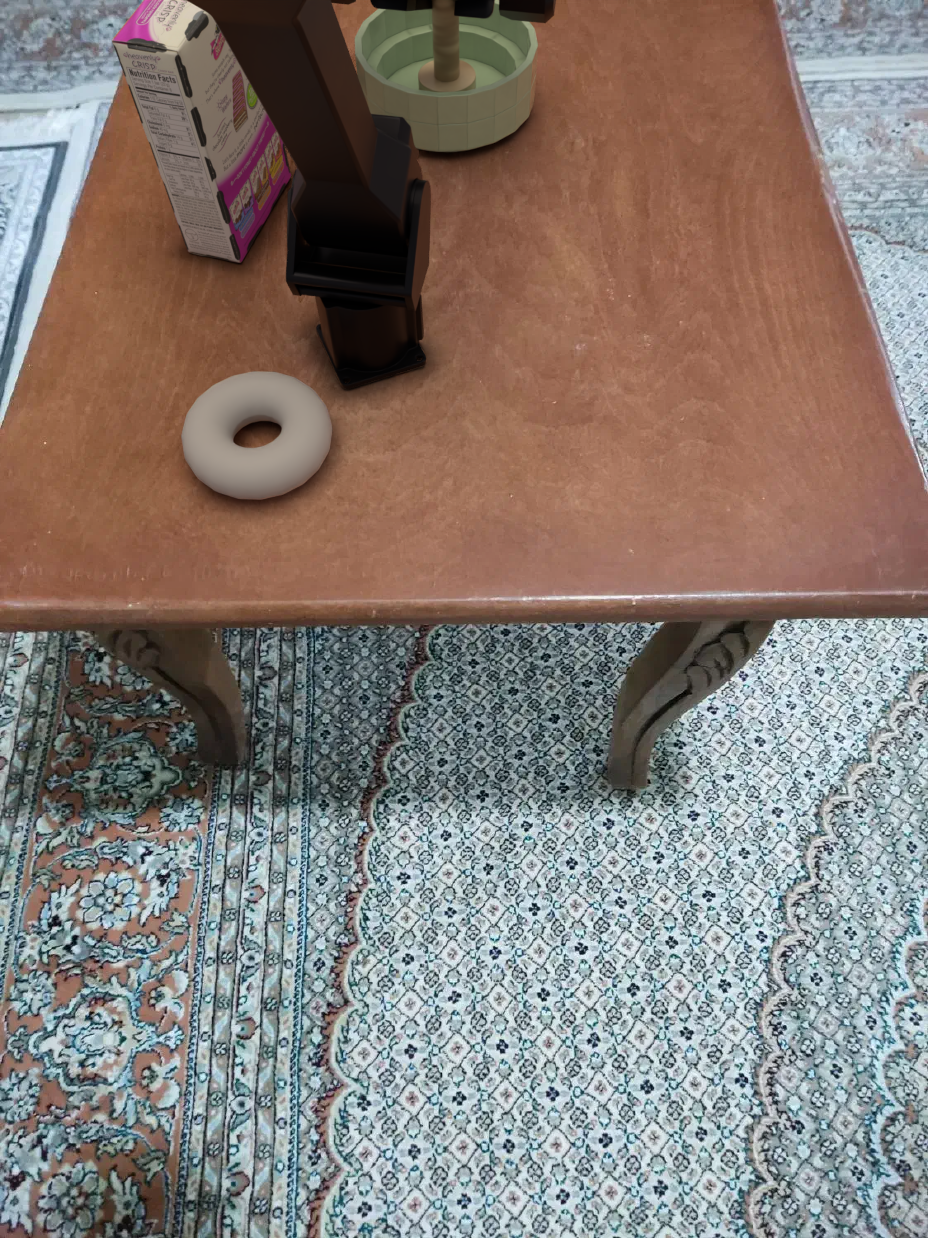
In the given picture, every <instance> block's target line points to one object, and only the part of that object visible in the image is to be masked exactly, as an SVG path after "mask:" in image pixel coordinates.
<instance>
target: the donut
mask: <svg viewBox="0 0 928 1238" xmlns="http://www.w3.org/2000/svg"><path fill="white" fill-rule="evenodd" d="M185 415H186V416H185V418H184V422H183V426H182V427H183V428H182V431H181V435H180V437H181V438H180V439H181V445H182V450H183V456H184V460H185V462H186V464H187V465H188V467H189V468H190V469H191V471H192V472H193V474H194V475H195V477H196V478H197V480H199V481H200V482H202V483H203V484H204V485H206V486H207V487H208V488H210V489H211V490H213V491H214V492H216V493H219V494H221V495H225V496H228V497H231V498H234V499H238V500H258V501H259V500H265V499H270V498H275V497H280V496H282V495H285V494H287V493H289V492H291V491H293V490H295V489H297V488H299V487H301V486H304V485H305V484H306V482H308V480H309V479H311V478H312V477H313V476H314V475H315V474H316V473H317V472H319V470H320V468H321V466H323V465H322V464H323V463H324V462H325V459H326V457H327V456H328V454H329V452H330V450H331V444H332V437H333V424H332V420H331V416H330V413H329V409H328V407H327V404H326V403H325V402H324V400H322V398H321V397H320V395H319V394H318V393H317V391H316V390H315V389H314V388H312V387H311V386H309V385H308V384H306V383H304V382H303V381H301V380H300V379H298V378H297V377H295V376H292V375H288V374H285V373H281V372H279V371H265V370H263V371H261V370H260V371H258V370H254V371H249V372H248V371H247V372H243V373H239V374H234V375H231V376H229V377H227V378H225V379H223V380H221V381H219V382H217V383H214V384H213V385H212V386H210V387H209V388H207V390H205V391H204V392H203V393H202V394H200V395H199V396H198V397H197V398H196V399H195V401H194V403H193V404H192V405H191V407H190V408H189V410H188V411H187V413H186V414H185ZM258 422H272V423H274V424H277V425H279V426H280V428H281V431H280V433H279V435H278V436H277V437H275V438H274V439H273V440H272V441H271V442H269V443H267V444H264V445H261V446H257V447H244V446H241V445H238V444H236V443H235V441H234V439H235V436H237V433H239V431H241V429H243V428H244V427H247V426H248V425H250V424H253V423H258Z"/></svg>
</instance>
